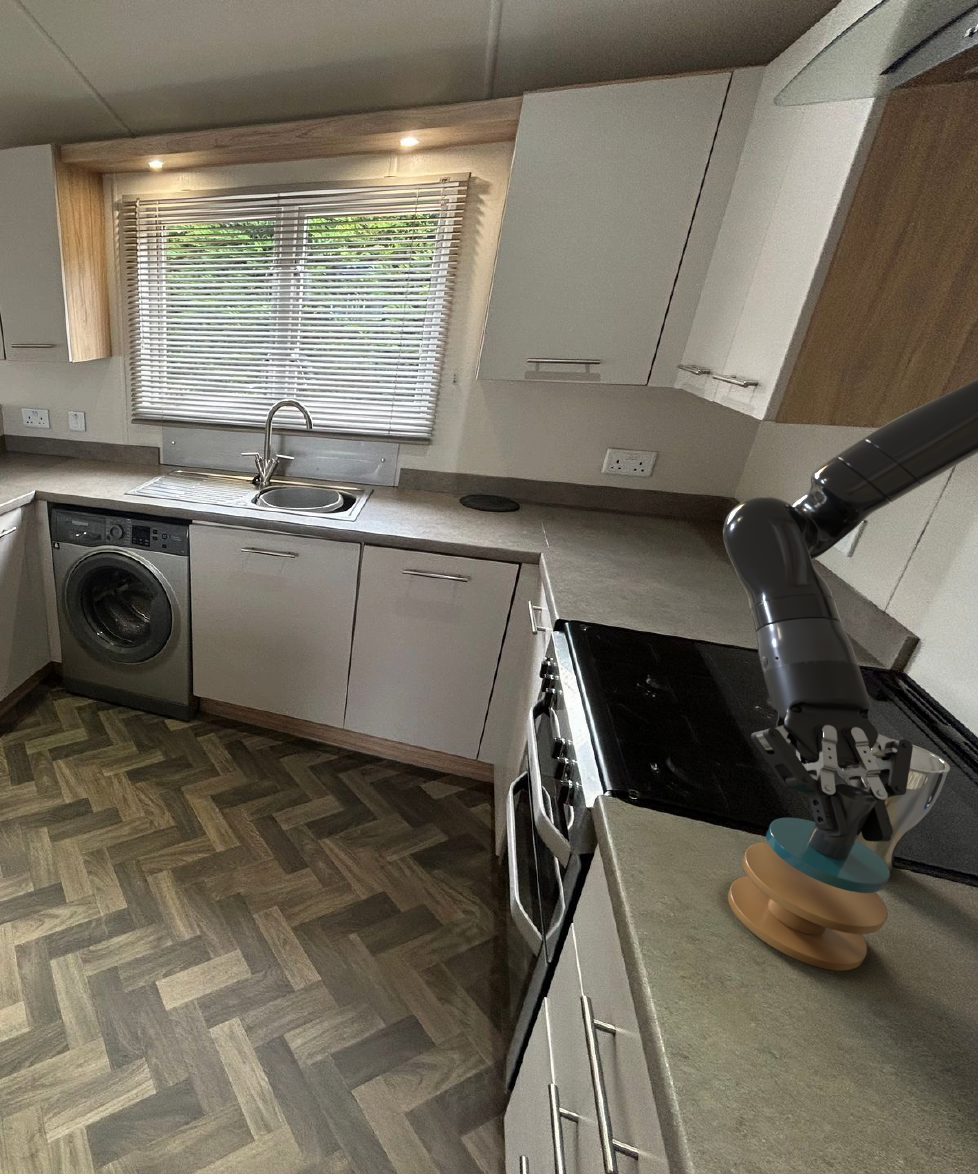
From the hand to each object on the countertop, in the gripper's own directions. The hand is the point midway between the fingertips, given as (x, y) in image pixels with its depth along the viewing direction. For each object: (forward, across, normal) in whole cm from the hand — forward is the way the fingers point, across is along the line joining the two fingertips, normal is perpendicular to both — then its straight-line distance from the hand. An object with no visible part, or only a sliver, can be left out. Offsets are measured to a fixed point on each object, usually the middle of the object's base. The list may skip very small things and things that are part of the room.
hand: (857, 838), depth 61 cm
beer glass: (0, +15, +20) cm, 25 cm away
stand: (+8, 0, +11) cm, 14 cm away
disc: (+2, 0, +5) cm, 5 cm away
